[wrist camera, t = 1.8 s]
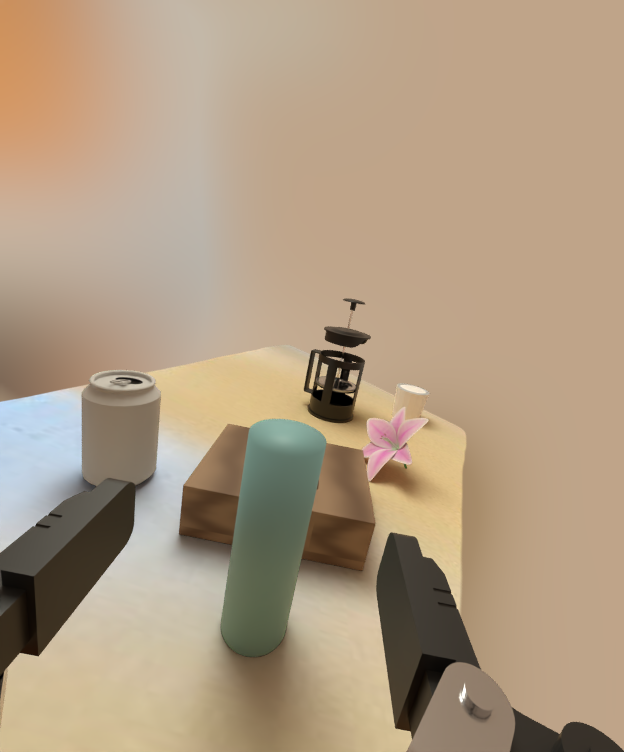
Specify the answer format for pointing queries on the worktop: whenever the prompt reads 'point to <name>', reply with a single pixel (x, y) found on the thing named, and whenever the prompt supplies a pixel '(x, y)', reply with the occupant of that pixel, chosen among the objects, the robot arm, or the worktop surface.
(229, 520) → the well block
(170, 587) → the worktop surface
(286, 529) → the peg
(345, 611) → the worktop surface
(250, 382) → the worktop surface
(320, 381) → the french press
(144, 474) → the can
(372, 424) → the lily
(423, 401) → the white cylinder
